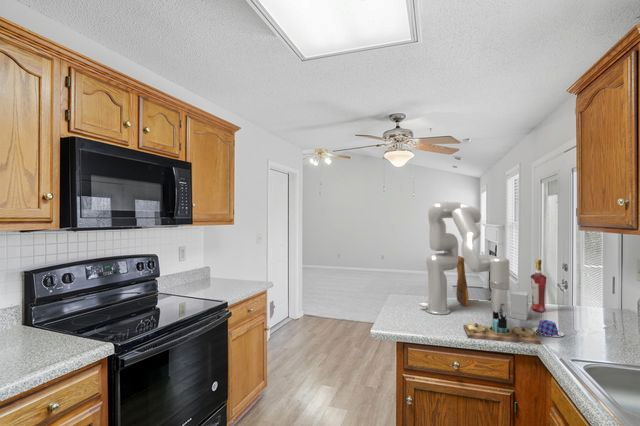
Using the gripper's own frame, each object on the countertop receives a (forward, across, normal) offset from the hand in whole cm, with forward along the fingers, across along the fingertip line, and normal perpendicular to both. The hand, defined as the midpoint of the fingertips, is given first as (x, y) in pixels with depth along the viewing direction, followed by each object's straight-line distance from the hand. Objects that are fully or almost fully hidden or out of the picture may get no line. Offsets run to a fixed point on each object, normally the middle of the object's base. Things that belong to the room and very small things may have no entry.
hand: (499, 324), depth 151 cm
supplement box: (+5, -30, +16) cm, 34 cm away
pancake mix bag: (+5, -52, -9) cm, 53 cm away
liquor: (+5, -44, +29) cm, 53 cm away
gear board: (+5, 0, 0) cm, 5 cm away
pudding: (+6, -9, +22) cm, 25 cm away
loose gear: (+3, 0, 0) cm, 3 cm away
